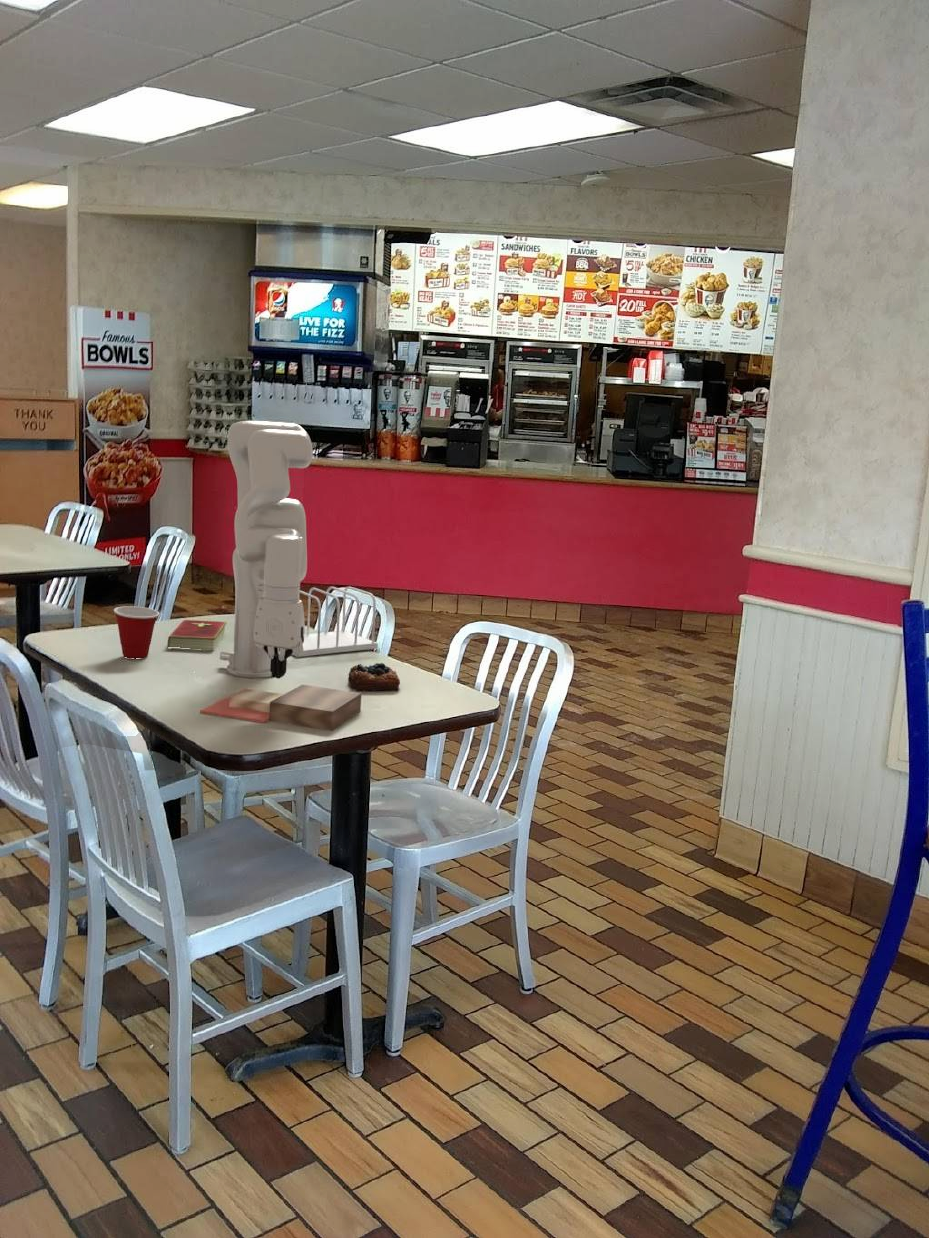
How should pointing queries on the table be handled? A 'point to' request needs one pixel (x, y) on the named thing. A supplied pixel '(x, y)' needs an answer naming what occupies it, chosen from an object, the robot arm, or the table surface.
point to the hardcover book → (197, 634)
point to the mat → (235, 711)
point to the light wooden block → (253, 700)
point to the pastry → (373, 678)
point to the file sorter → (337, 639)
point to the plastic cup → (135, 630)
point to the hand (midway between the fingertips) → (278, 676)
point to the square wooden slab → (315, 707)
